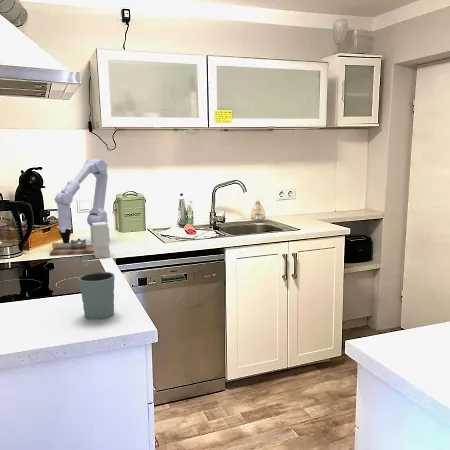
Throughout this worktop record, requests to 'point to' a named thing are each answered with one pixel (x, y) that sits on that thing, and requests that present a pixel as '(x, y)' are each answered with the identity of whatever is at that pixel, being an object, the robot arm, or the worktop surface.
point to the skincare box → (100, 240)
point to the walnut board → (72, 251)
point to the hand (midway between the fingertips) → (66, 244)
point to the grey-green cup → (97, 294)
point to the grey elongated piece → (71, 244)
